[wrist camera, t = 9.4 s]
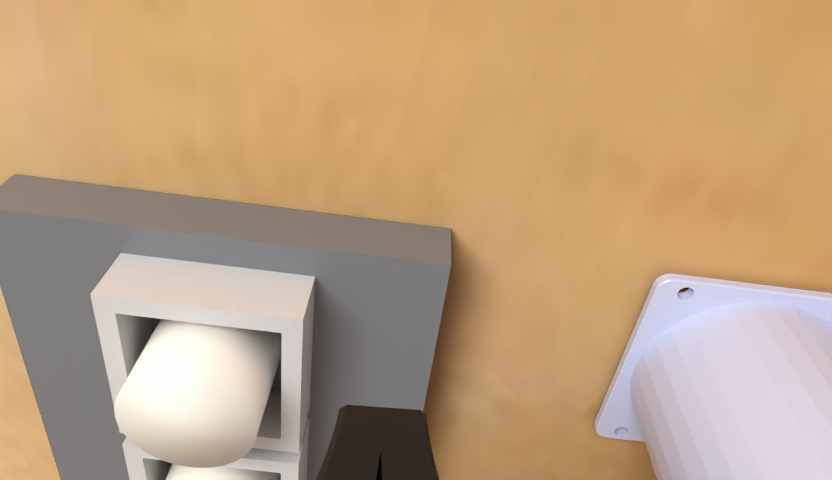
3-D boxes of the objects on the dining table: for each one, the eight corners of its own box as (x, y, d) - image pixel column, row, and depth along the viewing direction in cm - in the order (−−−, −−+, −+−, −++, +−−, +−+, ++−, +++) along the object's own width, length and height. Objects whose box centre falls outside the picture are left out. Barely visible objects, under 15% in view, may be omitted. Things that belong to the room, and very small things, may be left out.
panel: (450, 228, 21) (451, 308, 17) (387, 570, 32) (381, 656, 29) (14, 174, 20) (-71, 245, 17) (111, 541, 32) (72, 625, 29)
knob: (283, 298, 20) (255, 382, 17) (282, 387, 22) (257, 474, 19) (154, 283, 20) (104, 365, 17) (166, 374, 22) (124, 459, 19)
